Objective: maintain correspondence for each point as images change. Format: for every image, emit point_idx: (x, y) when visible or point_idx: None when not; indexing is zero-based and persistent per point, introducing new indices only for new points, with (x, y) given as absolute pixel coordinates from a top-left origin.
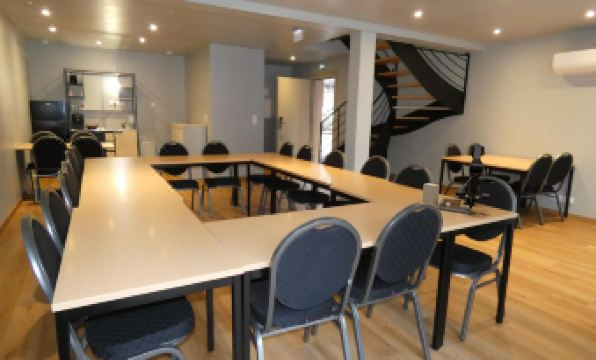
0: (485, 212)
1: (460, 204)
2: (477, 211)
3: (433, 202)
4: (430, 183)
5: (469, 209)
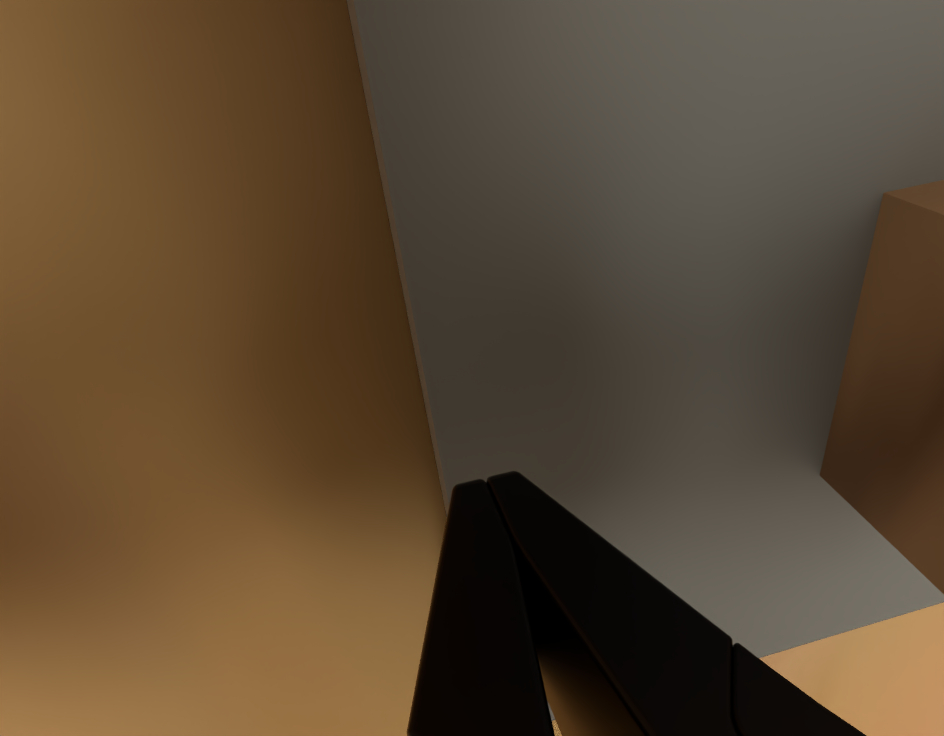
0: (39, 733)
1: (933, 542)
2: (274, 646)
3: None
4: None
5: None
